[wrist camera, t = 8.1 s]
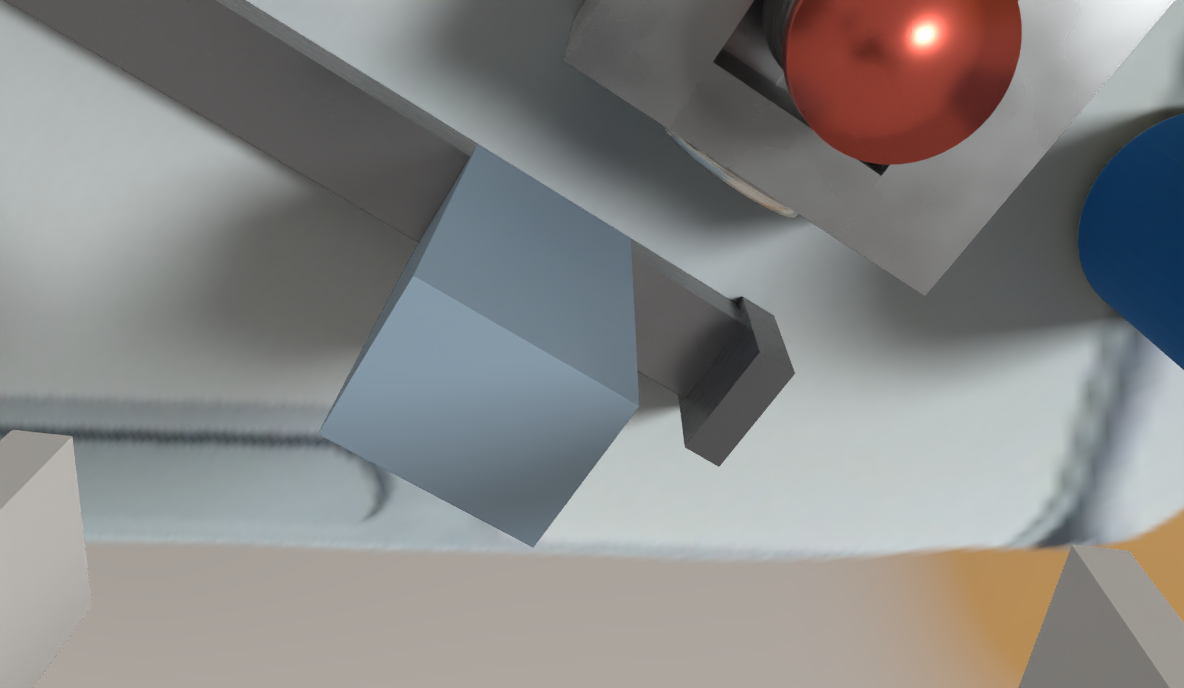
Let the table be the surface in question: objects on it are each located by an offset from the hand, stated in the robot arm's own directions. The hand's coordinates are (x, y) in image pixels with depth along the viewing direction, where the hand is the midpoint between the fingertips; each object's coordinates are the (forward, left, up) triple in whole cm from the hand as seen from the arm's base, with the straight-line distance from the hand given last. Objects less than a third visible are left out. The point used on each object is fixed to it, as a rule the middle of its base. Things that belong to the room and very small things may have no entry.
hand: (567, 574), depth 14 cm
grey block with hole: (+2, +8, -18) cm, 20 cm away
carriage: (-1, -2, -16) cm, 17 cm away
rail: (-5, -2, -18) cm, 19 cm away
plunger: (+2, +8, -14) cm, 16 cm away
